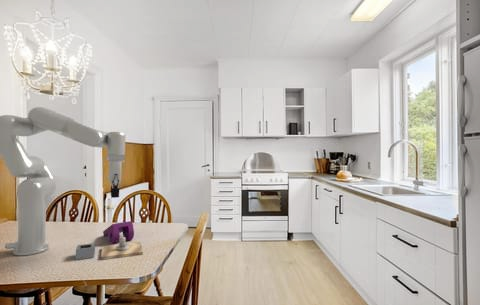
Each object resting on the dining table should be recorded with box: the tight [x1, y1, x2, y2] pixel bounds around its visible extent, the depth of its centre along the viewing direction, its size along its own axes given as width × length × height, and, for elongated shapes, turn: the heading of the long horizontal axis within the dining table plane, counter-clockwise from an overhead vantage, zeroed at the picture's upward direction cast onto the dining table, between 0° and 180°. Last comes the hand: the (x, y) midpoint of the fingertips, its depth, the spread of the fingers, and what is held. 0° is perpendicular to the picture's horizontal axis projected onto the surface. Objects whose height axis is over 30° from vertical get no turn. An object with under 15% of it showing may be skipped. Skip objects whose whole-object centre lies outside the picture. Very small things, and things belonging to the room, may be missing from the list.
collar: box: [75, 242, 96, 261], centre depth 111 cm, size 6×6×4 cm
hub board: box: [100, 236, 144, 261], centre depth 117 cm, size 16×14×6 cm
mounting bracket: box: [102, 220, 135, 245], centre depth 135 cm, size 9×8×18 cm
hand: (114, 195), depth 123 cm, fingers open, 9 cm apart
